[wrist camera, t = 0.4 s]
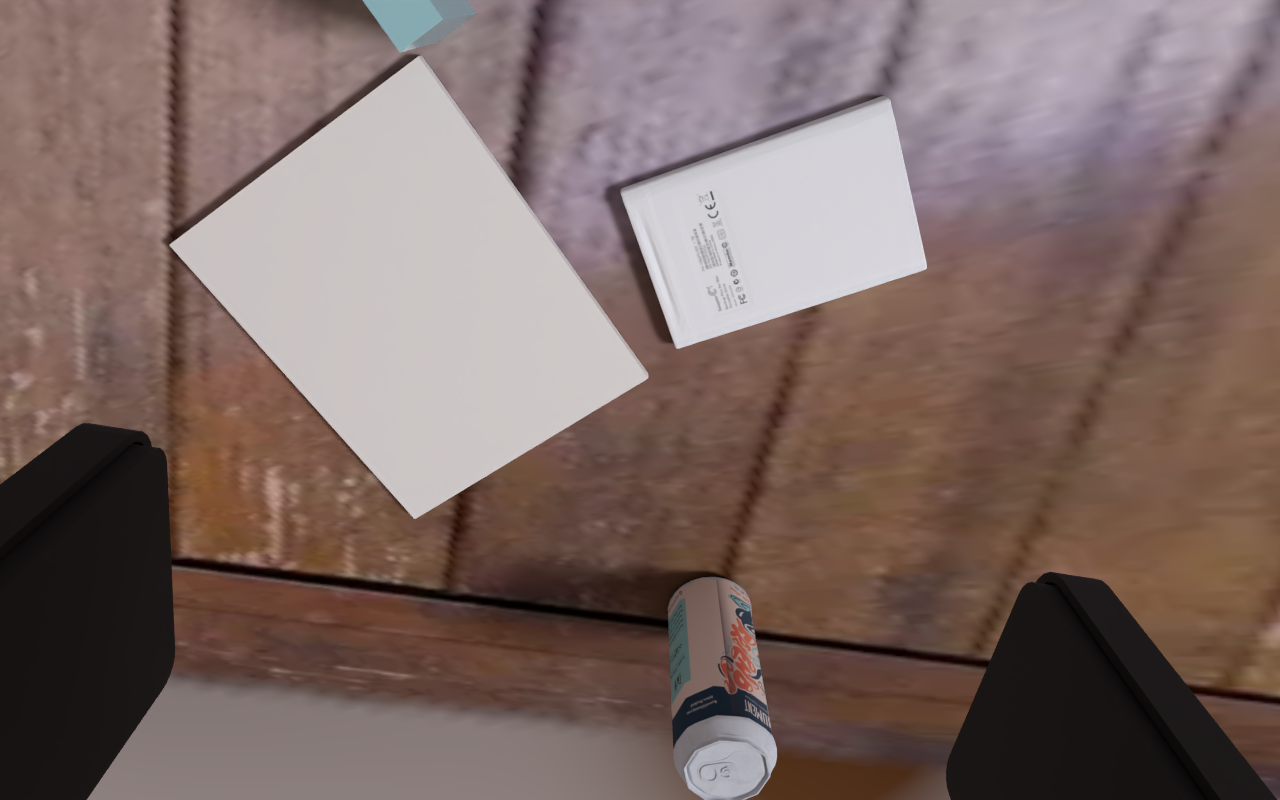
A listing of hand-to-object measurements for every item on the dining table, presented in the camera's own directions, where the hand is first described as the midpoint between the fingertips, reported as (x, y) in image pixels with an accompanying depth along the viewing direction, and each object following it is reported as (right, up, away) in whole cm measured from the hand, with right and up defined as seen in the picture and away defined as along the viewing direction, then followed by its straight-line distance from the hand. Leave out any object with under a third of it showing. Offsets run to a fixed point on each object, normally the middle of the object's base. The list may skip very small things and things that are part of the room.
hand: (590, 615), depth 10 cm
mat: (-10, +7, +34) cm, 36 cm away
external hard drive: (+7, +11, +33) cm, 35 cm away
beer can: (+4, -9, +42) cm, 43 cm away
